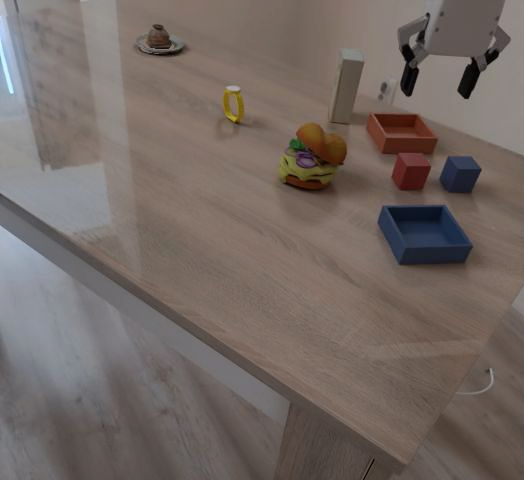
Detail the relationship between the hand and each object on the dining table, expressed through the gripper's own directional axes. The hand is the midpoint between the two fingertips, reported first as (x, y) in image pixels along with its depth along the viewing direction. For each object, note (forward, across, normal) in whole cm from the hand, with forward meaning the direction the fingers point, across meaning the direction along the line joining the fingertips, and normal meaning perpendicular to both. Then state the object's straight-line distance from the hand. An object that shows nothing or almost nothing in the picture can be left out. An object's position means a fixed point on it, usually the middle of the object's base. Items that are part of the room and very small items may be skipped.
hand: (434, 94), depth 75 cm
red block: (+15, 0, 0) cm, 15 cm away
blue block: (+15, -10, +1) cm, 18 cm away
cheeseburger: (+16, +18, -2) cm, 23 cm away
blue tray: (+15, +3, +17) cm, 23 cm away
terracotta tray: (+15, -4, -16) cm, 22 cm away
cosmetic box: (+15, +6, -26) cm, 30 cm away
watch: (+16, +28, -24) cm, 40 cm away
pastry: (+16, +43, -63) cm, 77 cm away
